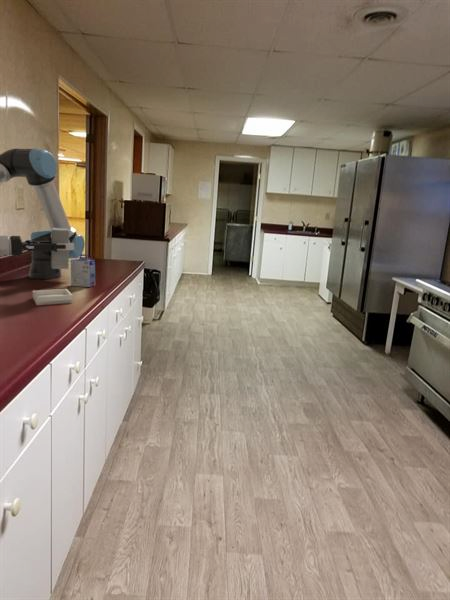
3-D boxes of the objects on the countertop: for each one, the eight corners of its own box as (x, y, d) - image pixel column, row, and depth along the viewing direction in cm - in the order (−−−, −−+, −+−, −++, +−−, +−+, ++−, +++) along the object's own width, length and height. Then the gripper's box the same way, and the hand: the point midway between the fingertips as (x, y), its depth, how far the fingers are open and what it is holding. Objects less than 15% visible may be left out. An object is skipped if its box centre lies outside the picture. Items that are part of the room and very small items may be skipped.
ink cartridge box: (96, 285, 200) (95, 254, 197) (90, 287, 195) (89, 256, 192) (77, 283, 202) (76, 253, 199) (70, 285, 197) (69, 254, 193)
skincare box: (51, 266, 176) (49, 227, 173) (69, 266, 179) (68, 227, 176) (51, 269, 169) (49, 228, 165) (70, 269, 172) (69, 229, 168)
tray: (33, 298, 170) (32, 290, 170) (67, 295, 177) (66, 288, 176) (36, 305, 159) (36, 297, 159) (72, 302, 166) (72, 295, 165)
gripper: (9, 252, 173) (67, 251, 184) (12, 258, 155) (77, 257, 166) (8, 233, 172) (67, 234, 182) (11, 238, 153) (76, 238, 164)
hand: (71, 245), depth 174 cm, fingers closed on skincare box, 8 cm apart
